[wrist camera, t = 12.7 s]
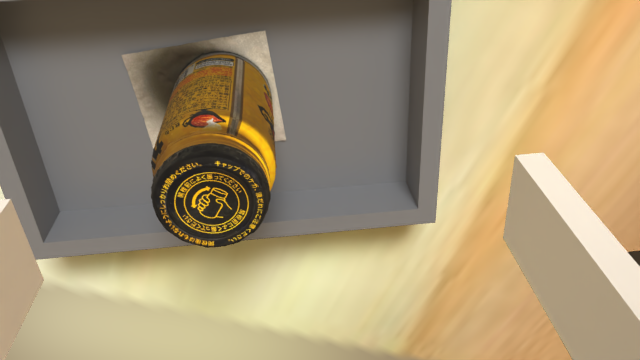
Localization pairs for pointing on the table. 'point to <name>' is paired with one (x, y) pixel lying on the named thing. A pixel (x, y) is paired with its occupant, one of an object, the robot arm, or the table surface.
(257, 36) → the condiment
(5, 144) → the tray
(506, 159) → the table surface
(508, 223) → the robot arm
